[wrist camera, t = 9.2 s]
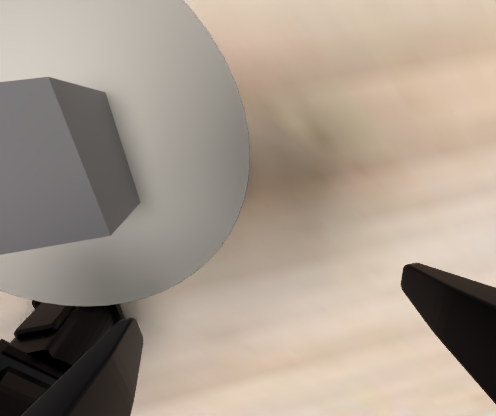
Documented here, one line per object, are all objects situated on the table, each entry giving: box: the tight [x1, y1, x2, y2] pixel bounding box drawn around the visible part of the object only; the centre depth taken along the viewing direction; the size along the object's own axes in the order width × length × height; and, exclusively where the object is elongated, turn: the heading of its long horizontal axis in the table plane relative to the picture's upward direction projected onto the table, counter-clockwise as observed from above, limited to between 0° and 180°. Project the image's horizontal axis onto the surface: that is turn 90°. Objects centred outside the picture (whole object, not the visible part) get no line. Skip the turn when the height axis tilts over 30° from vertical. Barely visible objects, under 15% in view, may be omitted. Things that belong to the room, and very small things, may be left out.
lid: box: [0, 0, 250, 306], centre depth 7 cm, size 12×12×3 cm
